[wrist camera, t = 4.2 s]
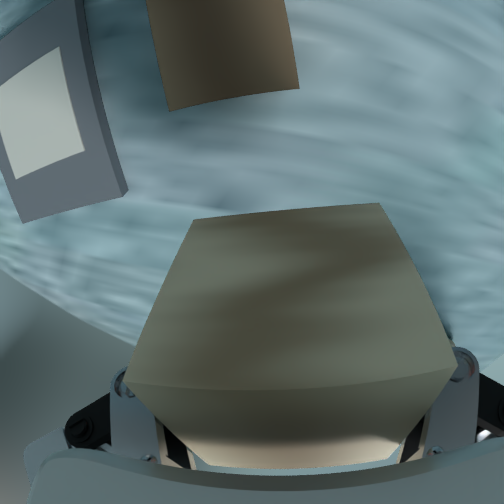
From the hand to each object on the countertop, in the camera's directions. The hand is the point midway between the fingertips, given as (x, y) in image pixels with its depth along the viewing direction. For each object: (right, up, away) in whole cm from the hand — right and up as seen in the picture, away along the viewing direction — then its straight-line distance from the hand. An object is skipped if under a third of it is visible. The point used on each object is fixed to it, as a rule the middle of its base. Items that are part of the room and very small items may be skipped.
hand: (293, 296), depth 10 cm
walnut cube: (-2, +12, +2) cm, 13 cm away
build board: (-15, +11, +4) cm, 19 cm away
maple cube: (0, 0, +1) cm, 1 cm away
